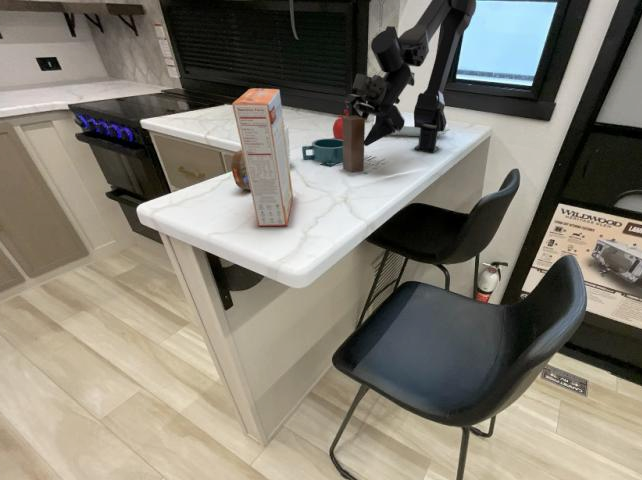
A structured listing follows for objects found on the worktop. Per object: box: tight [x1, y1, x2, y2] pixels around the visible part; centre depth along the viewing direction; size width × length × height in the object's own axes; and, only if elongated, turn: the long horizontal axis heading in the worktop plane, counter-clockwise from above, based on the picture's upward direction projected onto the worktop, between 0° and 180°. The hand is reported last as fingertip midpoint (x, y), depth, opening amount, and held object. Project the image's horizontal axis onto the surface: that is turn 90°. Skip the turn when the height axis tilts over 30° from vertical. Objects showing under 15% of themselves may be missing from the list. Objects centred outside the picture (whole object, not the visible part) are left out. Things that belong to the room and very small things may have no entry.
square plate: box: [372, 111, 451, 137], centre depth 127 cm, size 27×27×4 cm
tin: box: [230, 148, 251, 191], centre depth 77 cm, size 15×3×8 cm, turn 168°
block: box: [341, 115, 366, 174], centre depth 85 cm, size 4×4×13 cm
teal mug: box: [301, 138, 343, 164], centre depth 94 cm, size 13×10×4 cm
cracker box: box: [231, 87, 294, 227], centre depth 62 cm, size 14×6×21 cm, turn 5°
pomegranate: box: [332, 109, 349, 140], centre depth 109 cm, size 10×10×9 cm
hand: (354, 140), depth 84 cm, fingers open, 9 cm apart
